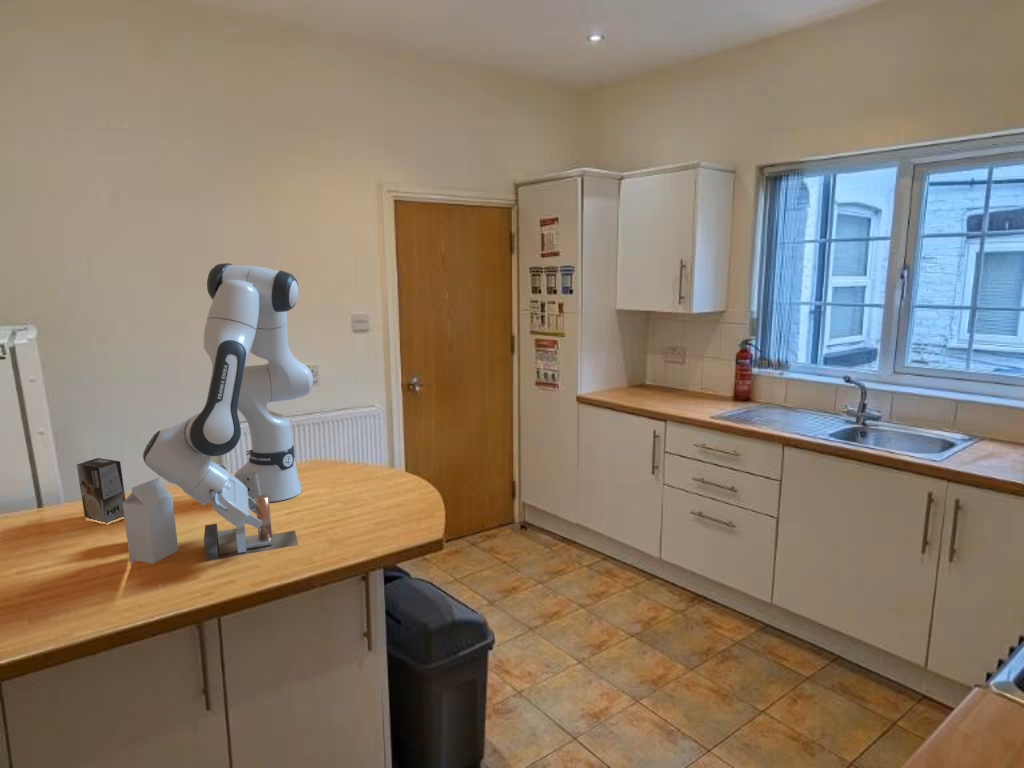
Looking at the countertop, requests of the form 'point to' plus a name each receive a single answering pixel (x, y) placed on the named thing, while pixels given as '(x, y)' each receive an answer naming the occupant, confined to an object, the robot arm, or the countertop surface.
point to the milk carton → (150, 522)
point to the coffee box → (101, 489)
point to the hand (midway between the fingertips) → (259, 517)
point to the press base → (278, 542)
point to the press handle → (263, 532)
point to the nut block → (227, 541)
